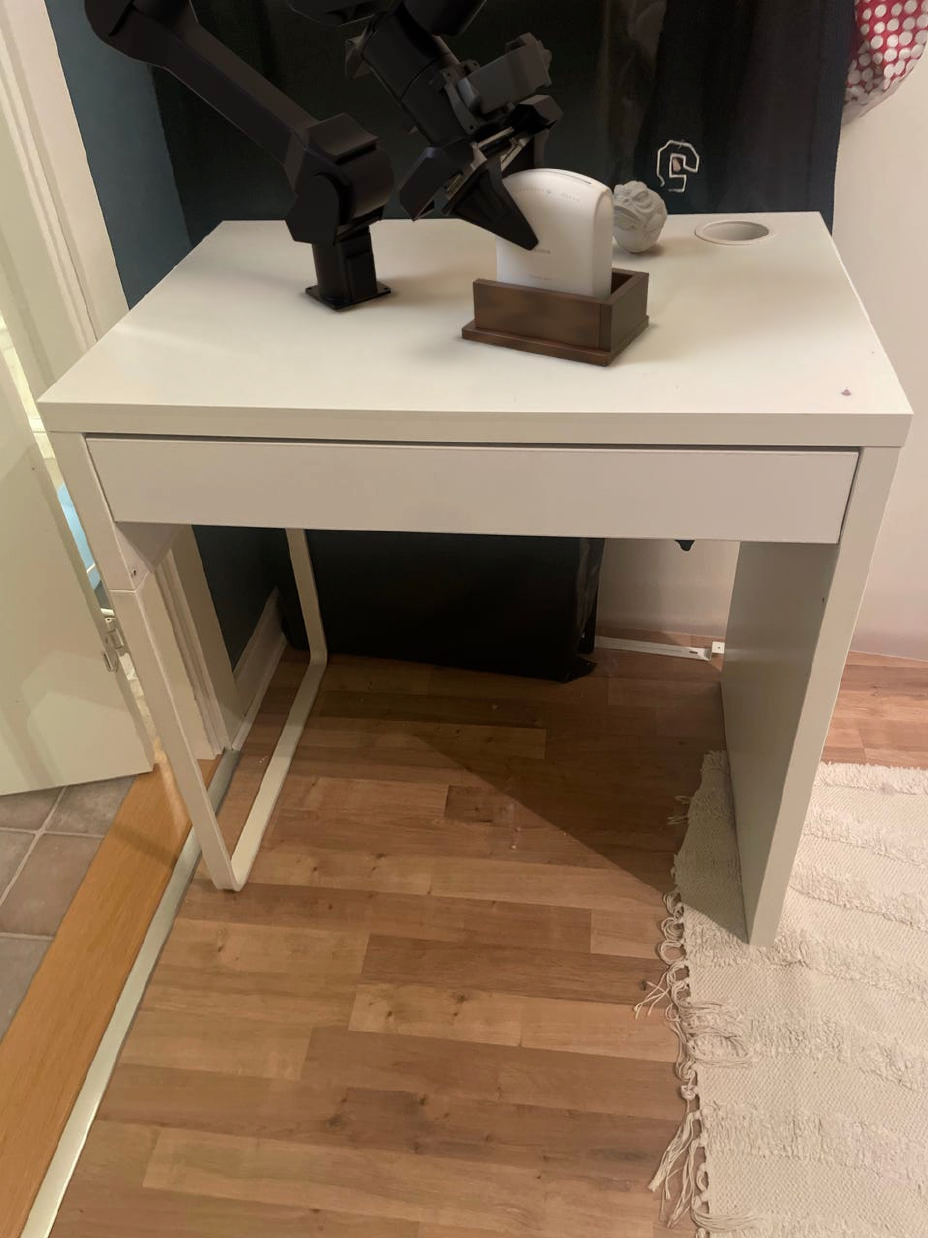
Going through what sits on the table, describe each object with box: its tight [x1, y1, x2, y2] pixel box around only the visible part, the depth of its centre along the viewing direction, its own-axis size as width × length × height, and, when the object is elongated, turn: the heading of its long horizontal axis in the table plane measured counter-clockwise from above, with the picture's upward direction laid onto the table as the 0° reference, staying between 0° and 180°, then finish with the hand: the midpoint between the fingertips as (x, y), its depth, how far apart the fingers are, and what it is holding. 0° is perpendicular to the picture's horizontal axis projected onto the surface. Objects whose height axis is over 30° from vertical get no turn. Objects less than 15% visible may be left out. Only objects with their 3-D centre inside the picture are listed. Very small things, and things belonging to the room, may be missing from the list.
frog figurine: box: [612, 180, 668, 253], centre depth 96 cm, size 6×7×7 cm
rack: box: [460, 267, 650, 367], centre depth 83 cm, size 14×9×5 cm, turn 59°
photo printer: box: [495, 168, 614, 299], centre depth 80 cm, size 10×4×12 cm, turn 57°
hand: (547, 238), depth 79 cm, fingers closed on photo printer, 4 cm apart
